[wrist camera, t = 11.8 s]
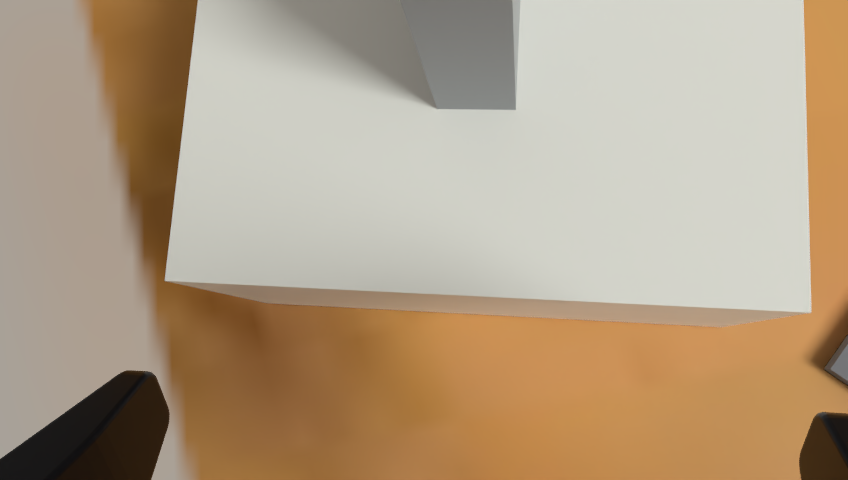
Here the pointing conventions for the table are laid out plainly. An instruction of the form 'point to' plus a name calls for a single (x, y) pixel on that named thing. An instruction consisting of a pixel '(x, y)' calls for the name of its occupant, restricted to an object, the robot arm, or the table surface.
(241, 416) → the table surface
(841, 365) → the mat
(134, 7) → the table surface
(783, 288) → the cover
